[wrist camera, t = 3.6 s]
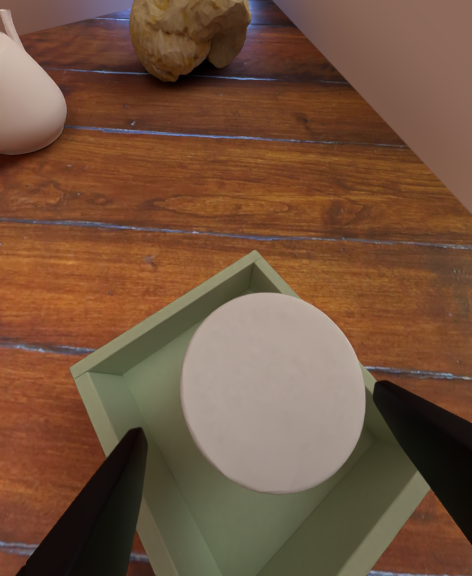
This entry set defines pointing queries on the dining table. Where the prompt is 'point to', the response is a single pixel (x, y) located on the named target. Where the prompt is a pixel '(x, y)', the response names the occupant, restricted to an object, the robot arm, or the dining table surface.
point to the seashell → (187, 34)
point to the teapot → (26, 98)
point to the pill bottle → (272, 393)
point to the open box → (218, 489)
